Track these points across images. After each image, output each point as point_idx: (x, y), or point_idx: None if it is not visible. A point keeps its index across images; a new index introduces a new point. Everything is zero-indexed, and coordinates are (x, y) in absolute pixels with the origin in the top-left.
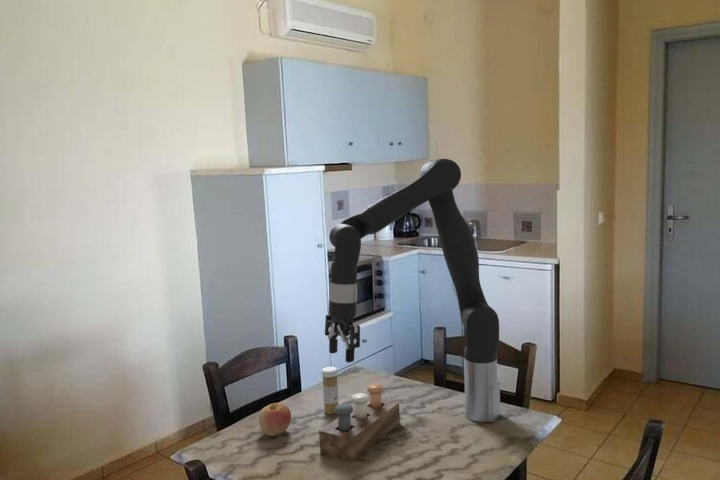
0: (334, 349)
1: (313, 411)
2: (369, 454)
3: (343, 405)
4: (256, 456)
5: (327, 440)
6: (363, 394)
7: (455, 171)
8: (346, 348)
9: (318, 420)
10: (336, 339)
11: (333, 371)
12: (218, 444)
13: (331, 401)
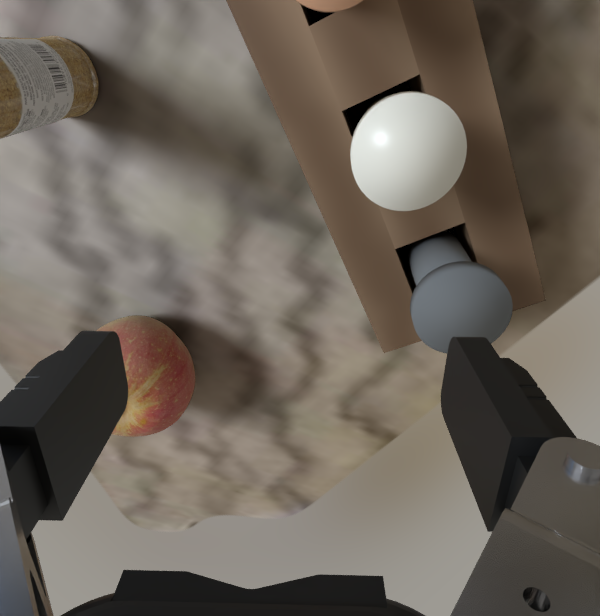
0: (107, 381)
1: (28, 149)
2: (524, 181)
3: (440, 302)
4: (268, 438)
5: None
6: (396, 115)
7: None
8: (489, 523)
9: (129, 179)
10: (21, 436)
11: None
12: (141, 474)
13: (67, 103)
